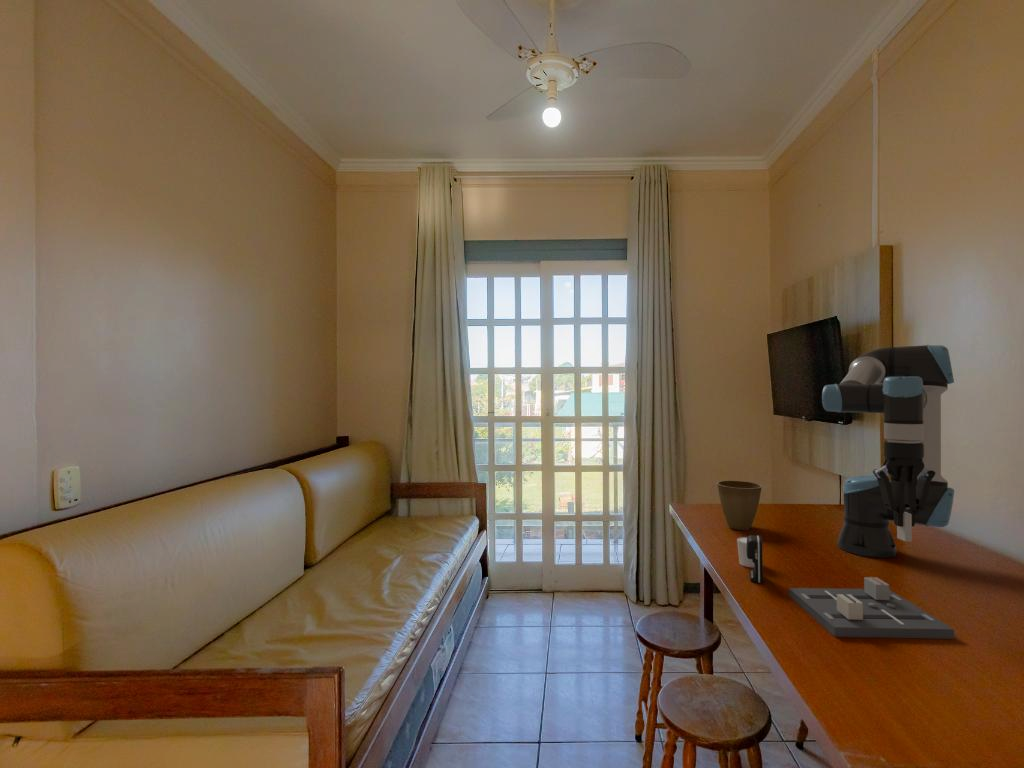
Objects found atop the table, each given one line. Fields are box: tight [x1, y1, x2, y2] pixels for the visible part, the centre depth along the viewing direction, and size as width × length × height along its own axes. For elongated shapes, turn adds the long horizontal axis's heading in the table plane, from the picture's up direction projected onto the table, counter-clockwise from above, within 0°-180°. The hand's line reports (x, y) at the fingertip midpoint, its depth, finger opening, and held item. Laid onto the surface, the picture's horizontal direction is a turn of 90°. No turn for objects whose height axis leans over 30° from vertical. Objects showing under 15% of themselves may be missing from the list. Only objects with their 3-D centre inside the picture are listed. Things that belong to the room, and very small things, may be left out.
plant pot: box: [717, 480, 763, 531], centre depth 184 cm, size 15×15×16 cm
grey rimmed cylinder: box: [736, 536, 755, 568], centre depth 148 cm, size 7×7×7 cm
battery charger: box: [746, 534, 764, 584], centre depth 137 cm, size 7×4×11 cm, turn 156°
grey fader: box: [863, 576, 890, 600], centre depth 120 cm, size 3×4×4 cm
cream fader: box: [837, 593, 863, 620], centre depth 111 cm, size 3×4×4 cm
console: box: [788, 587, 955, 640], centre depth 115 cm, size 24×20×3 cm
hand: (904, 539), depth 119 cm, fingers closed
